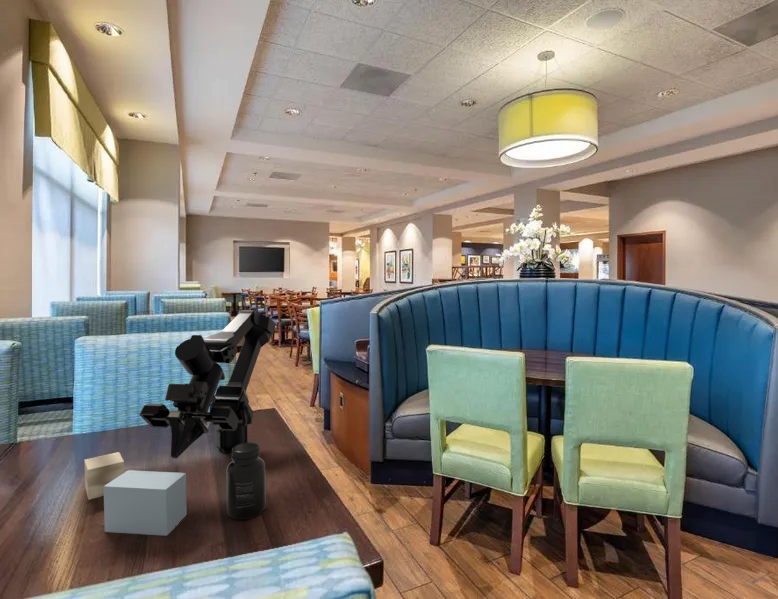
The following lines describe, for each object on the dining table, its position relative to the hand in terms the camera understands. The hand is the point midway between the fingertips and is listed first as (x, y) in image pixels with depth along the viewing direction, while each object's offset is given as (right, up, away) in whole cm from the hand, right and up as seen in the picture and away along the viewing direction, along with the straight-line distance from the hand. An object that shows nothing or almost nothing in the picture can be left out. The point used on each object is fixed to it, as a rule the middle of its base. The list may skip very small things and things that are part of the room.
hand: (173, 457), depth 82 cm
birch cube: (-16, -8, +4) cm, 18 cm away
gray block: (-1, -9, -8) cm, 12 cm away
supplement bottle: (+15, -9, -3) cm, 18 cm away
